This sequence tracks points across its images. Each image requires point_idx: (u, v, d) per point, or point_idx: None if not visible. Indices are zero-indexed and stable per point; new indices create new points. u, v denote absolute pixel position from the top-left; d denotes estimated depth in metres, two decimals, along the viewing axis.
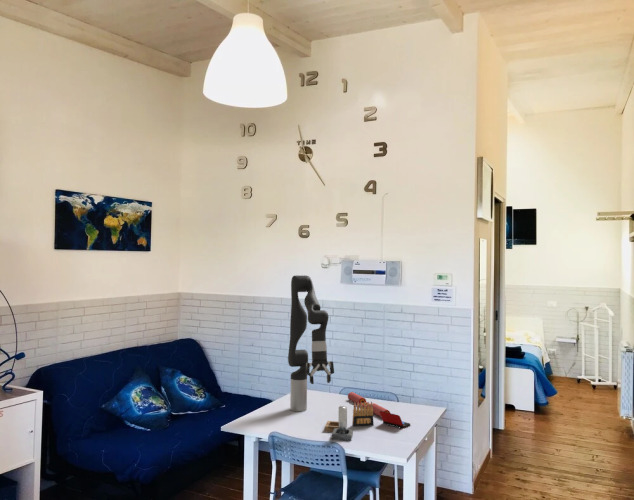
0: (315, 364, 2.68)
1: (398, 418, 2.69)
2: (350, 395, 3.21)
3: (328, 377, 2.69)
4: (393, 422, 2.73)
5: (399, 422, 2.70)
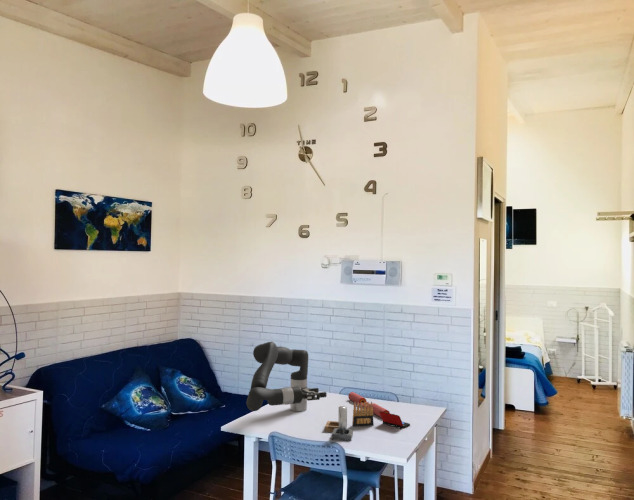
0: None
1: (398, 418, 2.69)
2: (351, 395, 3.22)
3: None
4: (393, 422, 2.73)
5: (399, 422, 2.70)
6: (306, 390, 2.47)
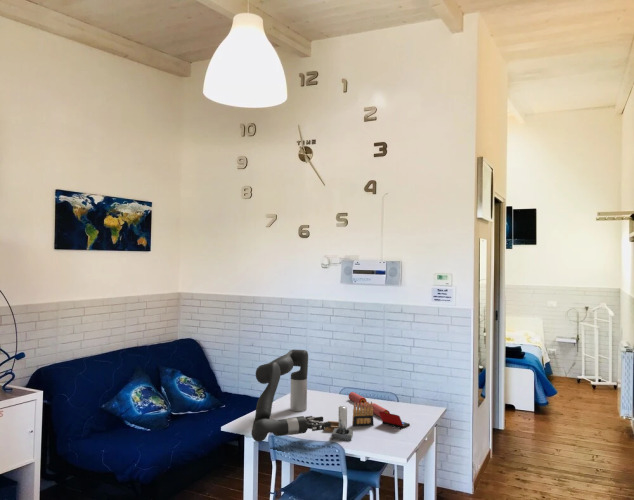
0: None
1: (398, 418, 2.68)
2: (351, 395, 3.22)
3: (325, 426, 2.48)
4: (393, 422, 2.73)
5: (399, 422, 2.70)
6: (311, 420, 2.48)
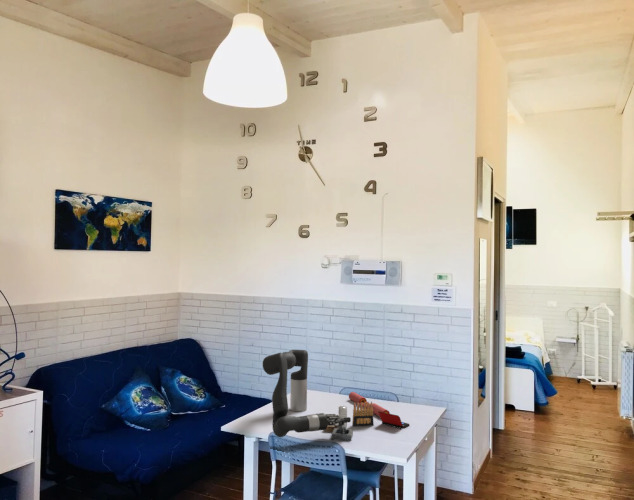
0: None
1: (398, 418, 2.68)
2: (351, 395, 3.22)
3: None
4: (392, 422, 2.72)
5: (398, 422, 2.69)
6: (331, 417, 2.52)
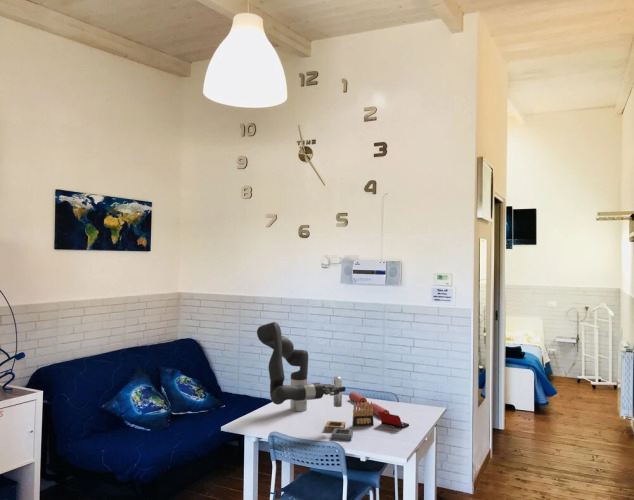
0: None
1: (397, 418, 2.68)
2: (351, 395, 3.22)
3: (340, 391, 2.65)
4: (392, 423, 2.72)
5: (398, 422, 2.69)
6: (326, 386, 2.62)
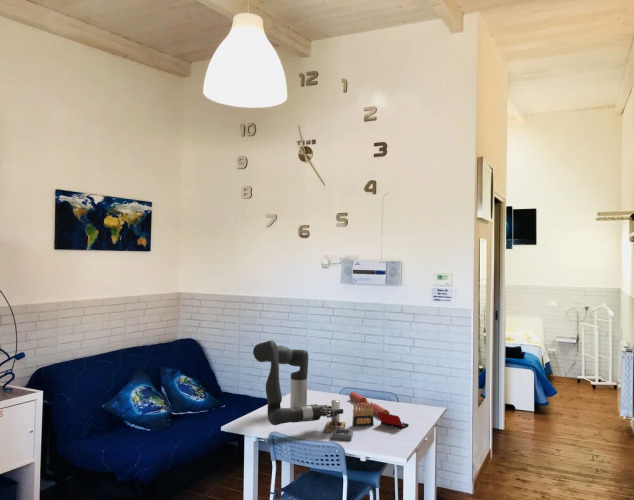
0: None
1: (397, 419, 2.68)
2: (351, 395, 3.22)
3: (337, 413, 2.65)
4: (392, 423, 2.72)
5: (398, 423, 2.69)
6: (324, 408, 2.64)
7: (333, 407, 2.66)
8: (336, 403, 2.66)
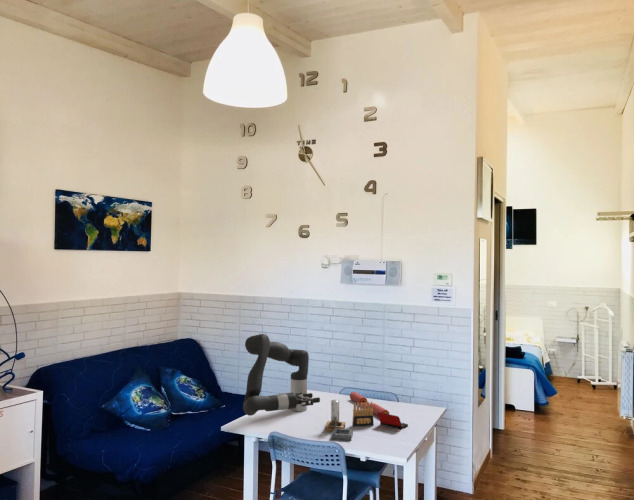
0: None
1: (397, 419, 2.67)
2: (352, 395, 3.22)
3: (314, 402, 2.59)
4: (391, 423, 2.71)
5: (398, 423, 2.68)
6: (300, 396, 2.58)
7: (333, 407, 2.66)
8: (336, 403, 2.66)
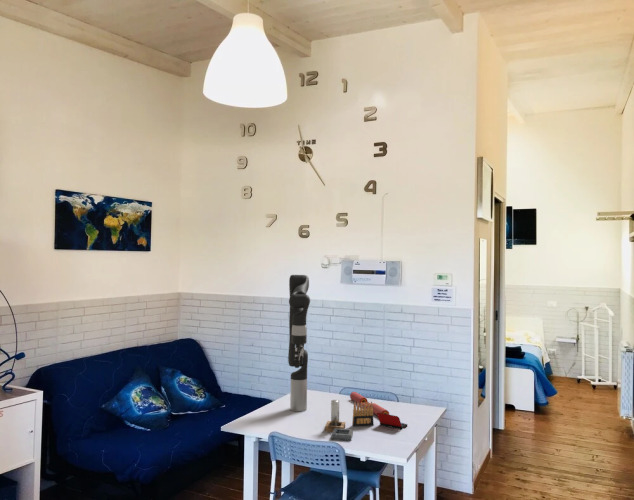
0: None
1: (397, 419, 2.67)
2: (352, 395, 3.22)
3: (295, 362, 2.69)
4: (391, 423, 2.71)
5: (398, 423, 2.68)
6: (302, 349, 2.71)
7: (333, 407, 2.66)
8: (336, 403, 2.66)
